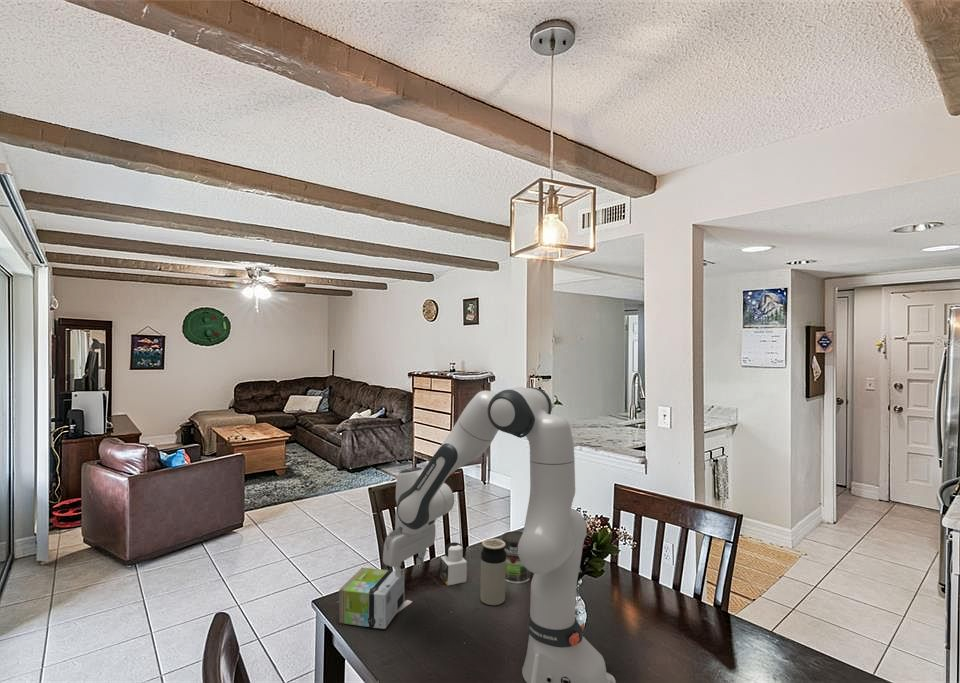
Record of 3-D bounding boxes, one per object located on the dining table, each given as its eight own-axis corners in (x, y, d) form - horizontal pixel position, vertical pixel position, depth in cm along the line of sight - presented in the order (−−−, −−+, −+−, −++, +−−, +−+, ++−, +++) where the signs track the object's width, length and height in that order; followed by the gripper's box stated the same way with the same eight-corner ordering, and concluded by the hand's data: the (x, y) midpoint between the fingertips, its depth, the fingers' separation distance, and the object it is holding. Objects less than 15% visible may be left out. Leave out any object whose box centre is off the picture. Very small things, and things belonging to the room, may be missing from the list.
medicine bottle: (439, 576, 170) (440, 542, 170) (458, 573, 173) (459, 539, 173) (447, 586, 163) (448, 550, 163) (466, 582, 166) (467, 547, 166)
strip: (412, 602, 152) (412, 601, 152) (374, 628, 138) (374, 627, 138) (407, 600, 153) (407, 599, 153) (369, 626, 139) (369, 625, 139)
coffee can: (527, 586, 165) (528, 544, 165) (497, 581, 168) (498, 540, 168) (532, 572, 174) (533, 533, 175) (505, 568, 178) (505, 529, 178)
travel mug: (501, 608, 150) (502, 549, 150) (476, 603, 153) (478, 545, 153) (507, 596, 158) (509, 540, 158) (484, 591, 160) (485, 536, 160)
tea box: (385, 593, 137) (337, 589, 140) (386, 630, 137) (338, 625, 140) (404, 570, 152) (360, 566, 155) (405, 602, 151) (361, 598, 154)
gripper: (394, 536, 134) (394, 587, 133) (439, 515, 151) (438, 560, 151) (377, 531, 137) (377, 581, 137) (423, 511, 154) (422, 555, 154)
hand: (409, 570), depth 144 cm, fingers open, 8 cm apart
